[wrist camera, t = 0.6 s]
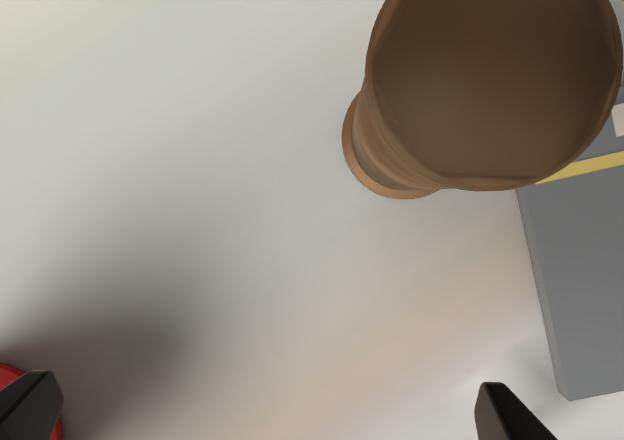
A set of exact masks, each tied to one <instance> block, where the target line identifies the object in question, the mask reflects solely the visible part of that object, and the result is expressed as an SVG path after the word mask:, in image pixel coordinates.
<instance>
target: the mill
mask: <svg viewBox="0 0 624 440" xmlns="http://www.w3.org/2000/svg"><path fill="white" fill-rule="evenodd" d="M622 69H623V48H622V40H621V33H620V30H619V26H618V22H617V18H616V16H615V13H614V11H613V9H612V6H611V4H610V2H609V0H385V2H384V4H383V6H382V8H381V10H380V12H379V14H378V16H377V19H376V21H375V24H374V27H373V29H372V33H371V38H370V42H369V46H368V50H367V55H366V64H365V77H364V81H363V85H362V88H361V91H360V92H359V93H358V94H357V95H356V97H355V98H354V100H353V101H352V103H351V105H350V106H349V108H348V111H347V113H346V116H345V119H344V124H343V130H342V147H343V153H344V156H345V159H346V162H347V164H348V166H349V168H350V170H351V171H352V173H353V174H354V176H355V177H356V178H357V179H358V180H359V181H360V182H361V183H362V184H363V185H364V186H366V187H367V188H368V189H370V190H371V191H373V192H375V193H377V194H380V195H382V196H385V197H390V198H396V199H414V198H420V197H423V196H427V195H429V194H432V193H434V192H436V191H438V190H439V189H450V188H457V189H461V190H470V191H503V190H509V189H515V188H520V187H524V186H527V185H530V184H534V183H536V182H539V181H541V180H543V179H546V178H548V177H550V176H552V175H554V174H555V173H557V172H559V171H560V170H562V169H564V168H565V167H566V166H568V165H569V164H570V163H571V162H573V161H574V160H575V159H577V158H578V157H579V156H580V155H581V154H582V153H583V152H584V151H585V150H586V149H587V148H588V147H589V146H590V145H591V143H592V142H593V141H594V139H595V138H596V137H597V136H598V134H599V133H600V132H601V130H602V128H603V126H604V125H605V123H606V121H607V120H608V118H609V116H610V114H611V111H612V109H613V106H614V104H615V102H616V98H617V95H618V91H619V88H620V83H621V76H622Z"/></svg>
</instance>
